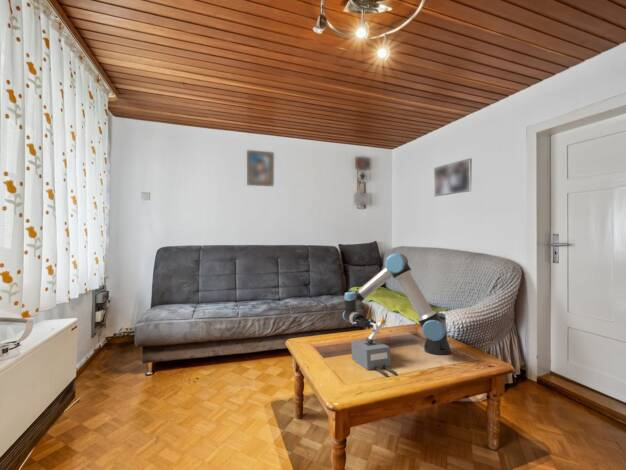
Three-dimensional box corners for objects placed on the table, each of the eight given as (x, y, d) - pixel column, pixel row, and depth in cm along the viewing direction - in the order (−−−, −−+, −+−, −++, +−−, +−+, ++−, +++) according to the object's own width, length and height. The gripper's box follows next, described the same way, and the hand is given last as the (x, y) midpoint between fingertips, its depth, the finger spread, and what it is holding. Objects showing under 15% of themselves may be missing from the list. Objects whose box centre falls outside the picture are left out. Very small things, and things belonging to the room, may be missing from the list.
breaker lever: (365, 340, 159) (380, 317, 163) (368, 342, 160) (382, 320, 164) (368, 342, 156) (383, 318, 160) (371, 344, 156) (386, 321, 160)
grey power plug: (352, 359, 163) (351, 341, 164) (373, 356, 168) (372, 338, 169) (379, 378, 136) (378, 356, 137) (404, 374, 140) (402, 352, 141)
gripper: (367, 324, 178) (387, 333, 156) (348, 326, 174) (366, 335, 152) (366, 312, 179) (387, 319, 157) (347, 314, 175) (366, 321, 153)
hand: (377, 327), depth 154 cm, fingers closed
